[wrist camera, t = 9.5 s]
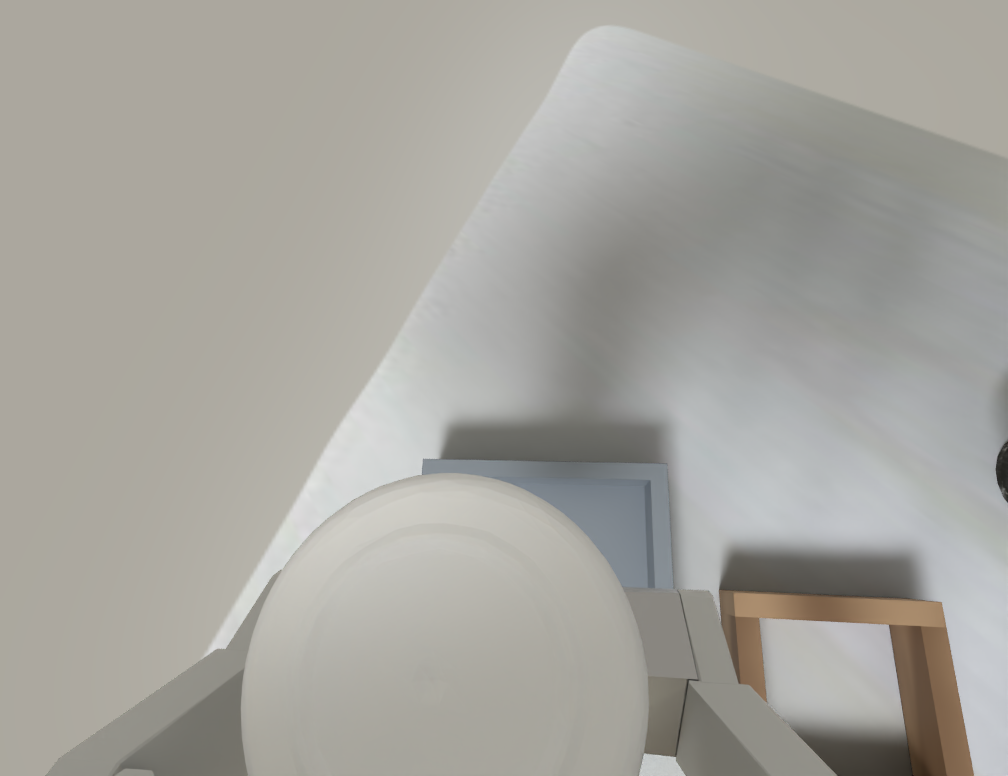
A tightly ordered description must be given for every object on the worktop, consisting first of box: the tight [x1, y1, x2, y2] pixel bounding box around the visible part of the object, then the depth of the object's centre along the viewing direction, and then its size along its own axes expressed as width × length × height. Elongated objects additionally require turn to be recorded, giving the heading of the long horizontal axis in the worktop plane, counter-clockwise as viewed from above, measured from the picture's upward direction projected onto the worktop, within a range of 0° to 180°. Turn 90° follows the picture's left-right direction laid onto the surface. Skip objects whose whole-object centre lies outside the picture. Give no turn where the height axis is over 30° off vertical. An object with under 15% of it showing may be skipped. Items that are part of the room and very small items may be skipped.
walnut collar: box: [719, 590, 974, 776], centre depth 24 cm, size 9×9×2 cm
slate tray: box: [422, 459, 673, 589], centre depth 26 cm, size 12×12×3 cm
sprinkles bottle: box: [241, 473, 649, 776], centre depth 12 cm, size 5×5×14 cm
